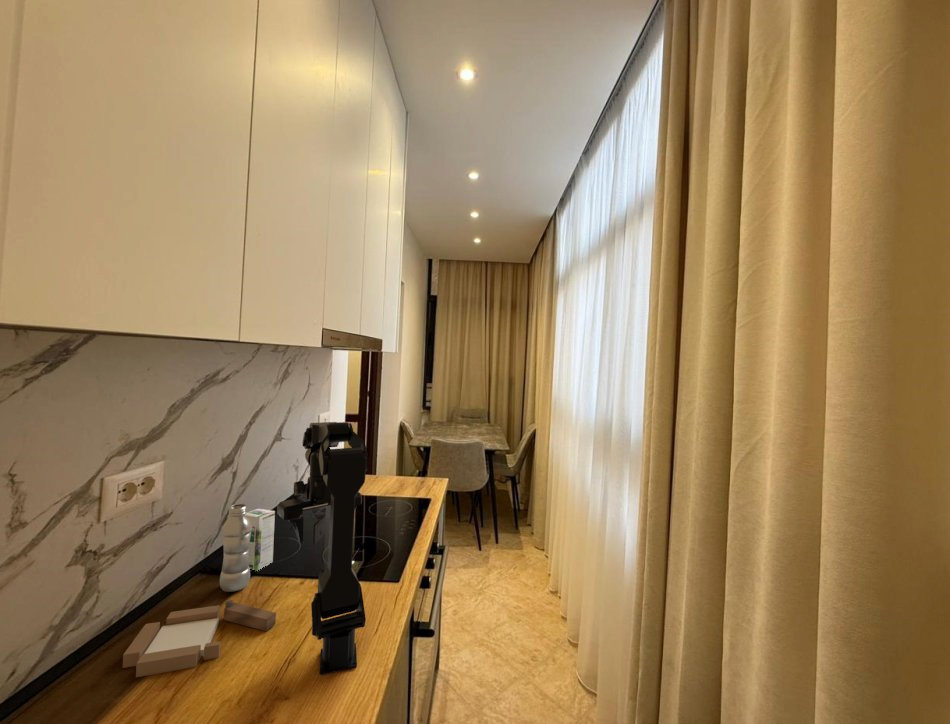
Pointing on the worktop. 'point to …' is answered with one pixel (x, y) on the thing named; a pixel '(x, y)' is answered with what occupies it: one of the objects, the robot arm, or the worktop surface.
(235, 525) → the silver metal bottle
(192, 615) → the seat
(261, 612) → the leg
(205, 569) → the worktop surface
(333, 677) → the worktop surface
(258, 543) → the syrup box
